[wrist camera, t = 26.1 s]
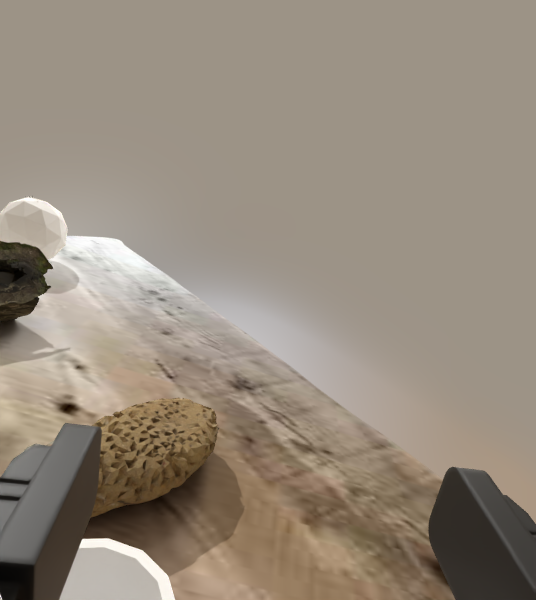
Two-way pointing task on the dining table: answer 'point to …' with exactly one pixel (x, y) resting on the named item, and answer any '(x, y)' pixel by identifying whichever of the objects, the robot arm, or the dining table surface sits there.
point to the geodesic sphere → (33, 225)
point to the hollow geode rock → (21, 279)
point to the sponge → (151, 450)
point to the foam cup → (114, 574)
